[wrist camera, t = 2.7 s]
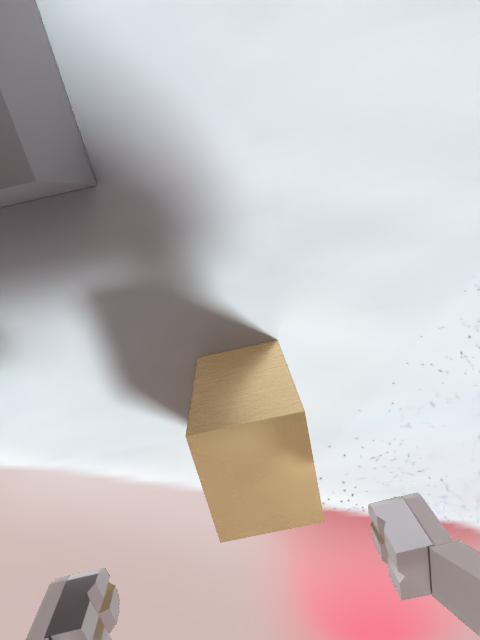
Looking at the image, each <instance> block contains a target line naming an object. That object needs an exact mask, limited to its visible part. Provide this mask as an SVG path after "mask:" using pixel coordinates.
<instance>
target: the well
mask: <svg viewBox="0 0 480 640" xmlns="http://www.w3.org/2000/svg"><path fill="white" fill-rule="evenodd" d="M95 185H97V183H96V180H95V177H94V174H93V171H92V168H91V165H90V162H89V159H88V156H87V153H86V150H85V147H84V144H83V141H82V138H81V135H80V132H79V129H78V126H77V123H76V120H75V117H74V114H73V111H72V108H71V105H70V102H69V99H68V96H67V93H66V90H65V87H64V84H63V81H62V78H61V75H60V73H59V70H58V67H57V64H56V61H55V58H54V55H53V52H52V49H51V46H50V43H49V40H48V37H47V34H46V31H45V28H44V25H43V22H42V19H41V16H40V13H39V10H38V7H37V4H36V1H35V0H0V208H2V207H6V206H10V205H14V204H19V203H23V202H27V201H31V200H36V199H40V198H44V197H48V196H53V195H57V194H61V193H66V192H70V191H74V190H78V189H83V188H87V187H91V186H95Z"/></svg>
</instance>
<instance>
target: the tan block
mask: <svg viewBox="0 0 480 640" xmlns="http://www.w3.org/2000/svg"><path fill="white" fill-rule="evenodd" d="M186 439H187V442H188V445H189V448H190V451H191V454H192V457H193V460H194V463H195V466H196V469H197V472H198V475H199V478H200V482H201V485H202V488H203V491H204V494H205V497H206V500H207V503H208V506H209V509H210V512H211V515H212V518H213V521H214V524H215V527H216V530H217V533H218V536H219V539H220V542H226V541H231V540H236V539H241V538H246V537H251V536H256V535H260V534H265V533H270V532H275V531H281V530H286V529H291V528H295V527H300V526H305V525H311V524H315V523H320V522H324V516H323V511H322V505H321V500H320V494H319V489H318V483H317V478H316V472H315V466H314V461H313V455H312V450H311V444H310V439H309V433H308V428H307V422H306V416H305V411H304V408H303V406H302V403H301V400H300V398H299V395H298V392H297V390H296V387H295V384H294V382H293V379H292V377H291V374H290V371H289V369H288V366H287V363H286V361H285V358H284V355H283V353H282V350H281V347H280V345H279V342H278V340H275V341H271V342H266V343H262V344H257V345H252V346H248V347H243V348H239V349H234V350H229V351H225V352H220V353H216V354H211V355H206V356H202V357H198V359H197V366H196V372H195V379H194V385H193V392H192V398H191V405H190V411H189V418H188V424H187V431H186Z"/></svg>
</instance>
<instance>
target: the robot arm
mask: <svg viewBox="0 0 480 640" xmlns="http://www.w3.org/2000/svg"><path fill="white" fill-rule="evenodd" d="M368 510H369V515H370V517H371V519H372V523H371V530H372V535H373V538H374V542H375V545H376V547H377V549H378V552H379V554H380V556H381V559H382V560H383V561H384V562H386V563H387V564H388V568H389V575H390V578H391V580H392V582H393V584H394V586H395V588H396V590H397V592H398V594H399V596H400V598H401V600H406V599H411V598H416V597H421V596H425V595H431V594H432V596H433V597H434V598H435V599H436V600H438V601H439V602H440V603H441V604H442V605H444V606H445V607H446V608H447V609H448V610H450V611H451V612H452V613H453V614H454V615H455V616H457V617H458V618H459V619H460V620H461V621H462V622H463V623H465V624H466V625H467V626H468V627H469V628H471V629H472V630H473V631H474V632H475V633H476V634H478V635H479V636H480V552H479V551H477V550H475V549H474V548H472V547H470V546H469V545H467V544H465V543H463V542H461V541H460V540H456V541H453V539H452V538H451V536H450V535H449V534H448V532H447V531H446V529H445V528H444V527H443V525H442V524H441V522H440V521H439V520H438V518H437V517H436V516H435V514H434V513H433V511H432V510H431V509H430V507H429V506H428V504H427V503H426V502H425V500H424V499H423V497H422V496H421V495H420V494H419V493H413V494H409V495H405V496H401V497H400V496H399V497H395V498H391V499H387V500H383V501H379V502H375V503H372V504H369V505H368ZM109 577H110V575H109V573H108V571H107V569H106V568H103V569H98V570H94V571H88V572H84V573H79V574H74V575H70V576H65V577H61V578H57V579H54V580H53V581H52V582H51V584H50V585H49V587H48V590H47V592H46V594H45V597H44V599H43V601H42V603H41V606H40V608H39V610H38V612H37V615H36V617H35V619H34V622H33V624H32V627H31V629H30V631H29V633H28V636H27V638H26V640H112V639H111V637H110V634H109V633H110V632H111V631H112V629H113V628H114V626H115V625H116V624H117V619H118V615H119V595H118V591H117V589H116V587H115V585H113V584H111V583H109V582H108V581H109Z"/></svg>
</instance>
